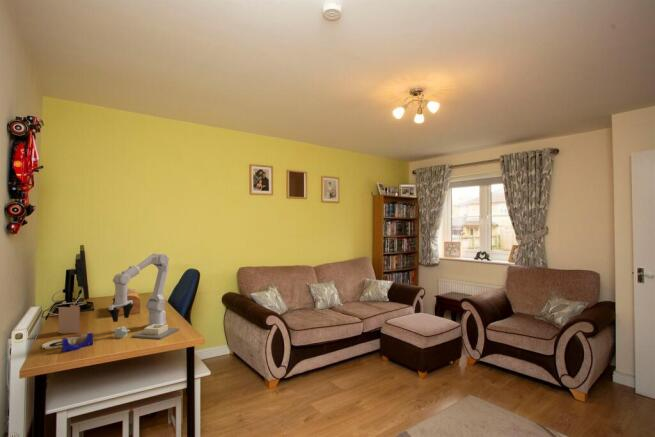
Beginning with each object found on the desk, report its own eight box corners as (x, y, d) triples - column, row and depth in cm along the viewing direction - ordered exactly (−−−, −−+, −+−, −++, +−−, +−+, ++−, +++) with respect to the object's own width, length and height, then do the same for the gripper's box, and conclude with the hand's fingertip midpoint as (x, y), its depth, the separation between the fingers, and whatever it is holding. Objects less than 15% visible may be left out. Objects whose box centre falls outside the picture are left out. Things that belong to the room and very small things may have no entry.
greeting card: (81, 332, 191) (81, 306, 191) (65, 336, 184) (66, 309, 185) (72, 329, 197) (72, 304, 197) (56, 333, 190) (57, 306, 190)
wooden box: (112, 308, 248) (112, 289, 248) (137, 305, 257) (137, 287, 257) (112, 317, 223) (112, 296, 223) (140, 313, 232) (140, 293, 232)
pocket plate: (152, 328, 198) (152, 321, 198) (179, 330, 194) (179, 323, 194) (131, 337, 182) (131, 330, 182) (160, 339, 179) (160, 331, 179)
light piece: (90, 336, 175) (41, 345, 163) (90, 342, 175) (41, 352, 163) (90, 331, 185) (43, 339, 172) (90, 336, 185) (43, 345, 172)
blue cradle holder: (64, 353, 160) (64, 340, 160) (62, 351, 163) (62, 338, 163) (93, 346, 170) (93, 334, 170) (90, 344, 172) (90, 332, 173)
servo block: (116, 335, 186) (116, 325, 186) (129, 336, 184) (130, 326, 184) (111, 337, 183) (111, 326, 183) (125, 338, 181) (125, 327, 181)
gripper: (125, 292, 192) (125, 315, 192) (103, 297, 178) (103, 323, 177) (135, 292, 190) (135, 316, 190) (115, 298, 176) (114, 323, 176)
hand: (121, 319), depth 184 cm, fingers open, 7 cm apart
